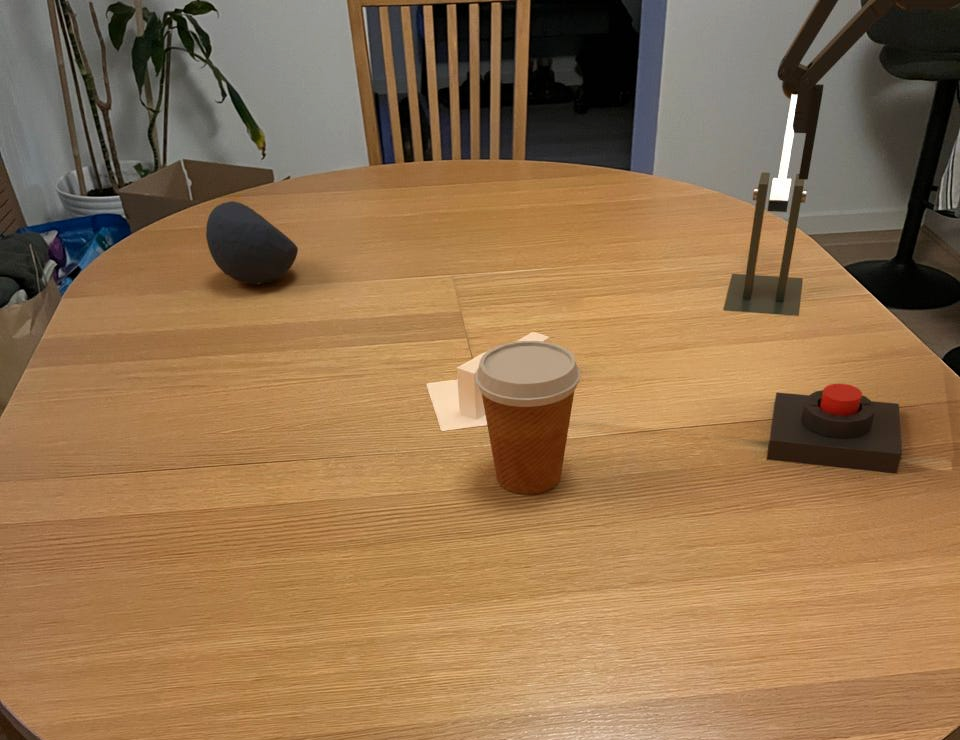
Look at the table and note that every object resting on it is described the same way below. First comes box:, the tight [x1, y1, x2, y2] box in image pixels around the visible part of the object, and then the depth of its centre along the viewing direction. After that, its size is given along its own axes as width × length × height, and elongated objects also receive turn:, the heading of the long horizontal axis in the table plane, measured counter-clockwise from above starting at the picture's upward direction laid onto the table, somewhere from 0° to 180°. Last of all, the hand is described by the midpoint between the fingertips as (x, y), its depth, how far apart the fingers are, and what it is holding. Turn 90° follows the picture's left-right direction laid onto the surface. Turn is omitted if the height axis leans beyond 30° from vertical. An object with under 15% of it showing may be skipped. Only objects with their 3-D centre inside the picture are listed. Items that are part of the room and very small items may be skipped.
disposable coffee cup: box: [475, 340, 581, 495], centre depth 90 cm, size 10×10×12 cm
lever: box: [767, 81, 798, 213], centre depth 114 cm, size 17×4×4 cm
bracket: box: [722, 172, 808, 317], centre depth 117 cm, size 12×9×15 cm
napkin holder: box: [425, 331, 551, 432], centre depth 104 cm, size 15×11×6 cm
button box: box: [766, 389, 903, 474], centre depth 95 cm, size 12×10×4 cm
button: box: [820, 383, 863, 416], centre depth 93 cm, size 4×4×2 cm
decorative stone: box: [205, 200, 299, 285], centre depth 131 cm, size 12×12×10 cm
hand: (888, 178), depth 80 cm, fingers open, 13 cm apart
